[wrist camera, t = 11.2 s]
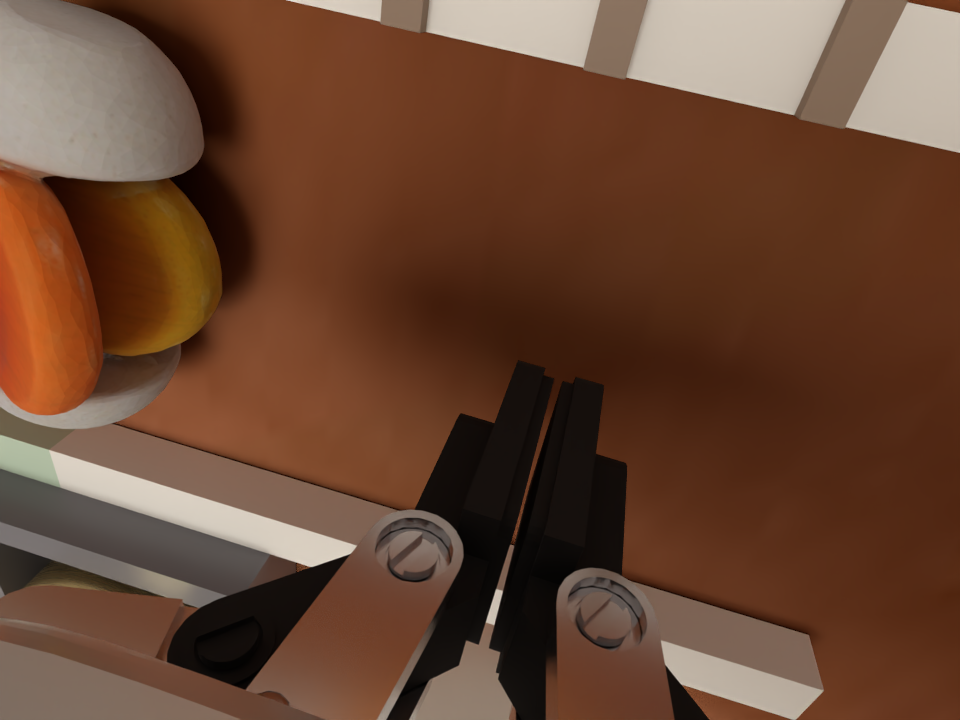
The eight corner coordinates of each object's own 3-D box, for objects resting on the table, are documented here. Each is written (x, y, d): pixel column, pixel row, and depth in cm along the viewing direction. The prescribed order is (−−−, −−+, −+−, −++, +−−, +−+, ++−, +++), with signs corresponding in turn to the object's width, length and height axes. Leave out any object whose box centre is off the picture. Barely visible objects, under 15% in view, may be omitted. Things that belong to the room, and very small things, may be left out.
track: (1283, 87, 8) (1506, 119, 6) (783, 664, 16) (803, 762, 14) (-406, -264, 11) (-660, -327, 8) (-98, 393, 19) (-189, 442, 17)
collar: (296, 514, 18) (240, 600, 15) (295, 671, 23) (253, 755, 20) (28, 431, 18) (-67, 500, 16) (84, 601, 23) (19, 673, 21)
